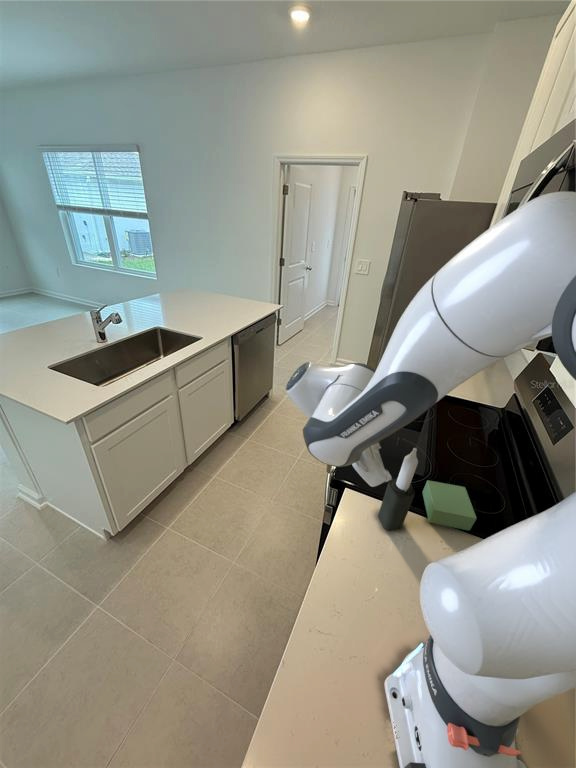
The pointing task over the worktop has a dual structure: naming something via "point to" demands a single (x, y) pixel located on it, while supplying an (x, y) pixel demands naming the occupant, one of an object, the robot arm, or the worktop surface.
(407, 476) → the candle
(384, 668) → the worktop surface
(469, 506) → the green block
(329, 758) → the worktop surface
